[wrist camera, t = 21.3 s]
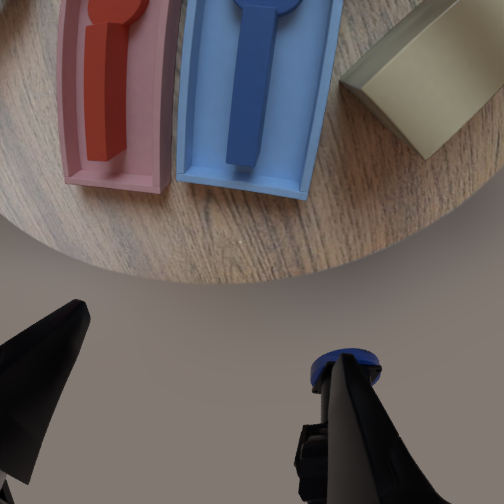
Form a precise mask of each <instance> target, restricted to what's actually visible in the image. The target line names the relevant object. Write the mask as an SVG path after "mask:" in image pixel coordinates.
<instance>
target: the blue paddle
mask: <svg viewBox="0 0 504 504" xmlns="http://www.w3.org/2000/svg"><path fill="white" fill-rule="evenodd" d="M233 1H234V2H235V3H236V4H237V5H238V6H239V7H240V8H241V9H242V17H241V25H240V33H239V41H238V49H237V57H236V66H235V75H234V84H233V93H232V102H231V112H230V122H229V133H228V143H227V154H226V163H227V164H234V165H241V166H248V167H255V166H256V163H257V160H258V157H259V155H260V150H261V143H262V135H263V128H264V120H265V113H266V106H267V98H268V91H269V84H270V77H271V69H272V62H273V55H274V48H275V40H276V33H277V26H278V19H279V17H282V16H285V15H287V14H289V13H291V12H292V11H294V10H295V9H296V8H297V7H298V6H299V5H300V4H301V2H302V0H233Z"/></svg>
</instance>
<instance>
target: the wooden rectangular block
mask: <svg viewBox="0 0 504 504" xmlns="http://www.w3.org/2000/svg"><path fill="white" fill-rule="evenodd" d="M339 81H340V82H341V83H342V84H343V85H344V86H345V87H346V88H347V89H348V90H349V91H351V92H352V93H353V94H354V95H355V96H356V97H357V98H358V99H359V100H360V101H361V102H362V103H363V104H364V105H365V106H366V107H367V108H368V109H369V110H370V111H371V112H372V113H373V114H374V115H375V116H376V117H377V118H378V120H379V121H380V122H381V123H382V124H383V125H384V126H385V127H386V128H387V129H388V130H389V131H391V132H392V133H393V134H394V135H395V136H397V137H398V138H399V139H400V140H401V141H402V142H404V143H405V144H406V145H407V146H408V147H409V148H410V149H412V150H413V151H414V152H415V153H416V154H417V155H418V156H419V157H420V158H422V159H423V160H424V161H427V160H428V159H429V158H430V157H431V156H432V155H433V154H434V153H435V152H437V151H438V150H439V149H440V148H441V147H442V146H443V145H444V144H445V143H446V142H447V141H448V140H449V139H450V138H451V137H452V136H453V135H454V134H455V133H457V132H458V131H459V130H460V129H461V128H462V127H463V126H464V125H465V124H466V123H467V122H468V121H469V120H470V119H471V118H472V117H473V116H474V115H475V114H476V113H477V112H478V111H479V110H480V109H481V108H482V107H483V106H484V105H485V104H486V103H487V102H488V101H489V100H490V99H491V98H492V97H493V96H494V95H495V94H496V93H497V92H498V91H499V90H500V89H501V88H502V87H503V86H504V0H424V1H423V2H421V3H420V4H419V5H418V6H417V7H416V8H415V9H413V10H412V11H411V12H410V13H409V14H408V15H407V16H406V17H405V18H403V19H402V20H401V21H400V22H399V23H398V24H397V25H396V26H395V27H393V28H392V29H391V30H390V31H389V32H388V33H387V34H386V35H385V36H384V37H383V38H382V39H381V40H379V41H378V42H377V43H376V44H375V45H374V46H373V47H372V48H371V49H370V50H369V51H368V52H367V53H366V54H365V55H364V56H363V57H362V58H361V59H359V60H358V61H357V62H356V63H355V64H354V65H353V66H352V67H351V68H350V69H349V70H348V71H347V72H346V73H345V74H344V75H343V76H342V77H341V78H340V79H339Z"/></svg>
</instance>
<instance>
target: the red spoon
mask: <svg viewBox="0 0 504 504" xmlns="http://www.w3.org/2000/svg"><path fill="white" fill-rule="evenodd" d="M148 3H149V0H89V2H88V8H87V10H88V16H89V19H90V21H91V22H92V23H93V24H94V25H89V26H86V30H85V45H84V121H85V137H86V150H87V160H88V161H104V162H107V161H109V160H110V159H112V158H113V157H115V156H116V155H118V154H119V153H121V152H122V151H124V150H125V149H127V144H126V74H127V53H128V38H129V26H130V25H132V24H133V23H135V22H136V21H137V20H138V19H139V18H140V17H141V16H142V15H143V13H144V12H145V10H146V8H147V6H148Z"/></svg>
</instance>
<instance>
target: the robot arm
mask: <svg viewBox="0 0 504 504" xmlns="http://www.w3.org/2000/svg"><path fill="white" fill-rule="evenodd" d="M89 324H90V314H89V311H88V308H87V305H86V303H85V302H84V301H82V300H78V299H74V300H72V301H71V302H69V303H67V304H66V305H64V306H62V307H61V308H59V309H57V310H56V311H54V312H52V313H51V314H49V315H48V316H46V317H44V318H43V319H41V320H40V321H38V322H36V323H35V324H33V325H31V326H30V327H29V328H27V329H25V330H24V331H22V332H20V333H19V334H17V335H16V336H14V337H13V338H11V339H10V340H8V341H6V342H5V343H4V344H2V345H1V346H0V504H14V501H13V498H12V495H11V492H10V490H9V487H8V484H7V480H6V479H5V478H6V475H7V474H8V475H10V476H12V477H14V478H15V479H18V480H19V481H21V482H23V483H25V484H27V485H28V484H29V482H30V479H31V475H32V472H33V469H34V465H35V463H36V460H37V457H38V454H39V451H40V448H41V445H42V442H43V439H44V436H45V433H46V431H47V428H48V426H49V423H50V420H51V418H52V415H53V413H54V410H55V408H56V405H57V403H58V400H59V398H60V395H61V393H62V391H63V388H64V386H65V384H66V381H67V379H68V377H69V375H70V372H71V370H72V368H73V366H74V364H75V361H76V359H77V357H78V354H79V352H80V349H81V346H82V343H83V340H84V337H85V335H86V332H87V329H88V327H89ZM381 371H382V367H381V365H369V364H358V362H357V360H356V358H355V357H354V355H352V354H348V353H341V354H340V355H339V357H338V359H337V361H328V362H326V364H325V366H324V368H323V369H322V371H321V373H320V375H319V377H318V379H317V380H316V382H315V384H314V386H313V388H312V392H313V393H316V394H321V423H320V424H313V425H303V429H302V432H301V435H300V439H299V444H298V448H297V452H296V456H295V461H294V466H295V467H296V470H297V474H298V476H299V478H300V483H299V491H298V493H299V495H300V497H301V499H302V501H304V502H307V503H308V504H451V503H449V502H447V501H446V500H444V499H443V498H442V497H441V496H440V495H439V494H438V493H437V492H436V491H435V490H434V488H433V487H432V485H431V484H430V482H429V481H428V480H427V478H426V477H425V475H424V474H423V473H422V471H421V470H420V468H419V467H418V465H417V464H416V462H415V461H414V459H413V458H412V456H411V455H410V453H409V451H408V450H407V448H406V446H405V444H404V443H403V441H402V439H401V437H399V434H398V432H397V430H396V428H395V427H394V425H393V423H392V421H391V419H390V418H389V416H388V414H387V412H386V410H385V409H384V407H383V405H382V403H381V402H380V400H379V398H378V396H377V395H376V393H375V391H374V389H373V388H372V383H373V382H374V380H375V379H376V378H377V376H378V375H379V374H380V373H381Z"/></svg>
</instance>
